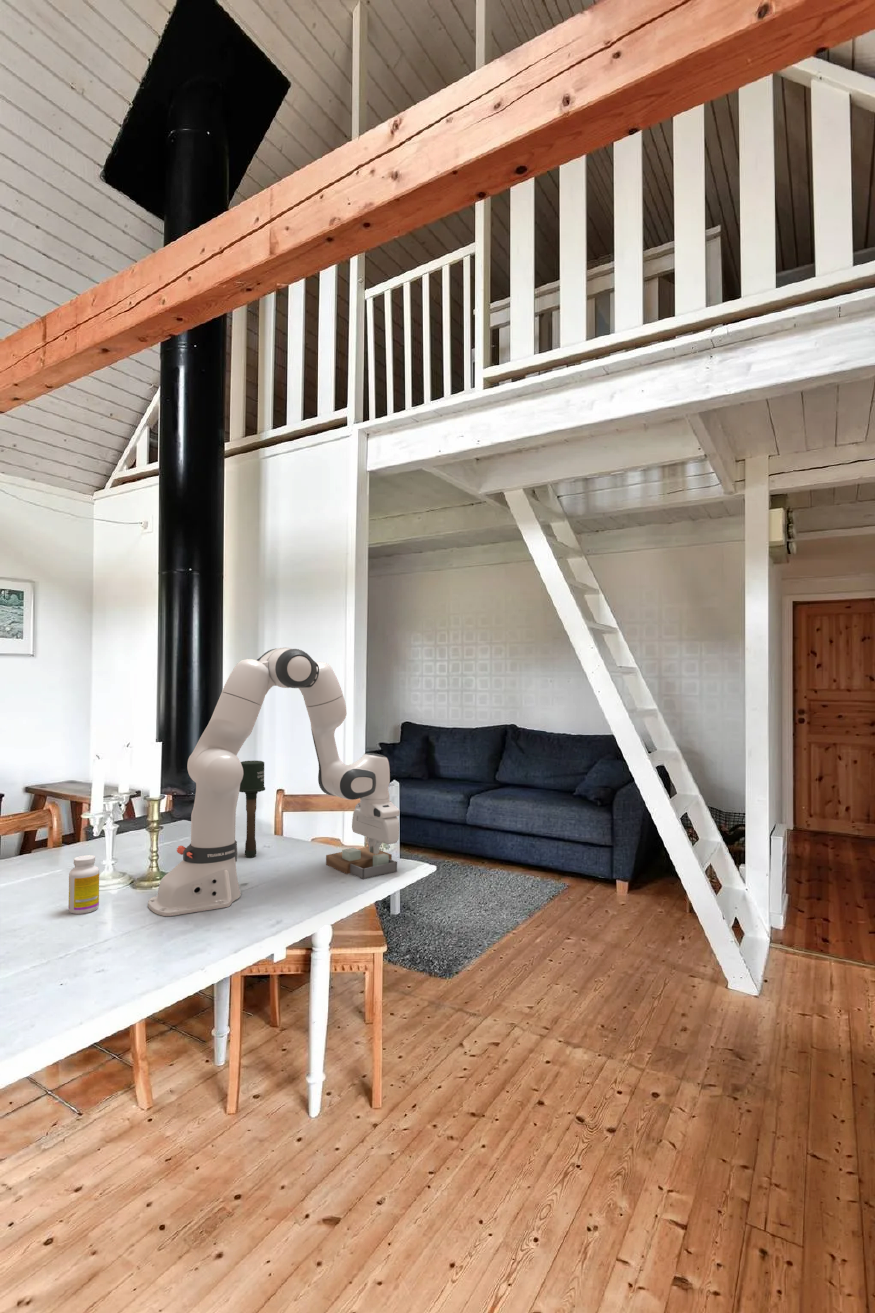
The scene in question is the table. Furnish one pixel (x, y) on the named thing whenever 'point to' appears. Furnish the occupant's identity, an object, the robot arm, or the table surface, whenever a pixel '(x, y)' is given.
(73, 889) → the supplement bottle
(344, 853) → the tile
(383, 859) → the tile
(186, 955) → the table surface
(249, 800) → the potato masher grenade
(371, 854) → the board
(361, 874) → the tray
